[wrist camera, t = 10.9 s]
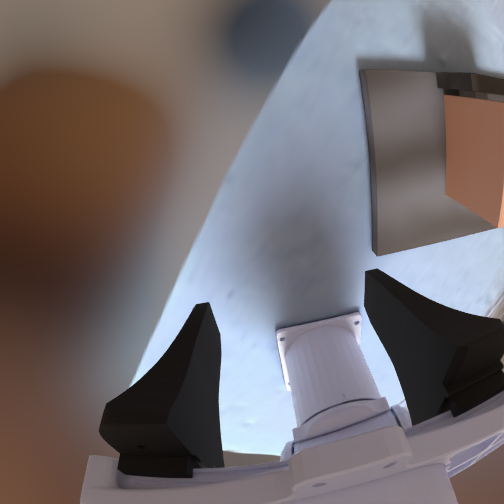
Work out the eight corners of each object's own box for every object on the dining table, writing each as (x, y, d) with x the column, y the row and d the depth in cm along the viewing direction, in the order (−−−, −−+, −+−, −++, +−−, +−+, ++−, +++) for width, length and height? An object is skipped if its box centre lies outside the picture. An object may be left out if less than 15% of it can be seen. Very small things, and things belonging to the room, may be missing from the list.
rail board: (511, 218, 23) (541, 239, 18) (372, 250, 23) (399, 284, 19) (515, 86, 16) (553, 93, 12) (359, 70, 17) (394, 65, 12)
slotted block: (484, 189, 20) (534, 218, 14) (445, 194, 20) (497, 228, 14) (485, 99, 16) (543, 111, 11) (443, 94, 16) (505, 103, 11)
